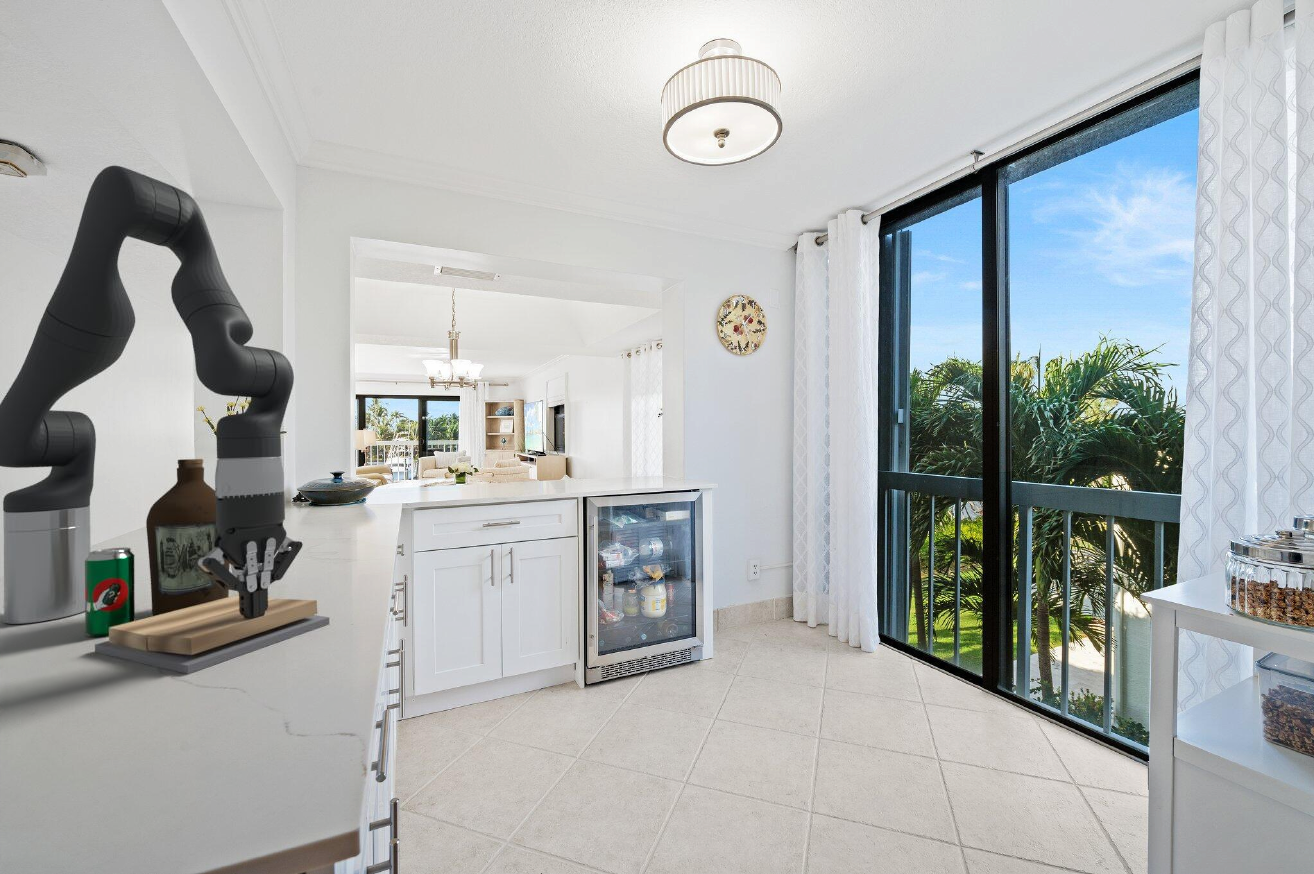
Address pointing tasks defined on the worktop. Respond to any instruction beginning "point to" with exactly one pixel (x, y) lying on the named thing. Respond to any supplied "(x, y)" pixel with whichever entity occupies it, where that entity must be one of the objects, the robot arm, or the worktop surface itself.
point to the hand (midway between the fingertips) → (253, 617)
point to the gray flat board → (215, 654)
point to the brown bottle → (182, 542)
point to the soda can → (109, 590)
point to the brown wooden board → (228, 627)
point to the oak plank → (168, 622)
